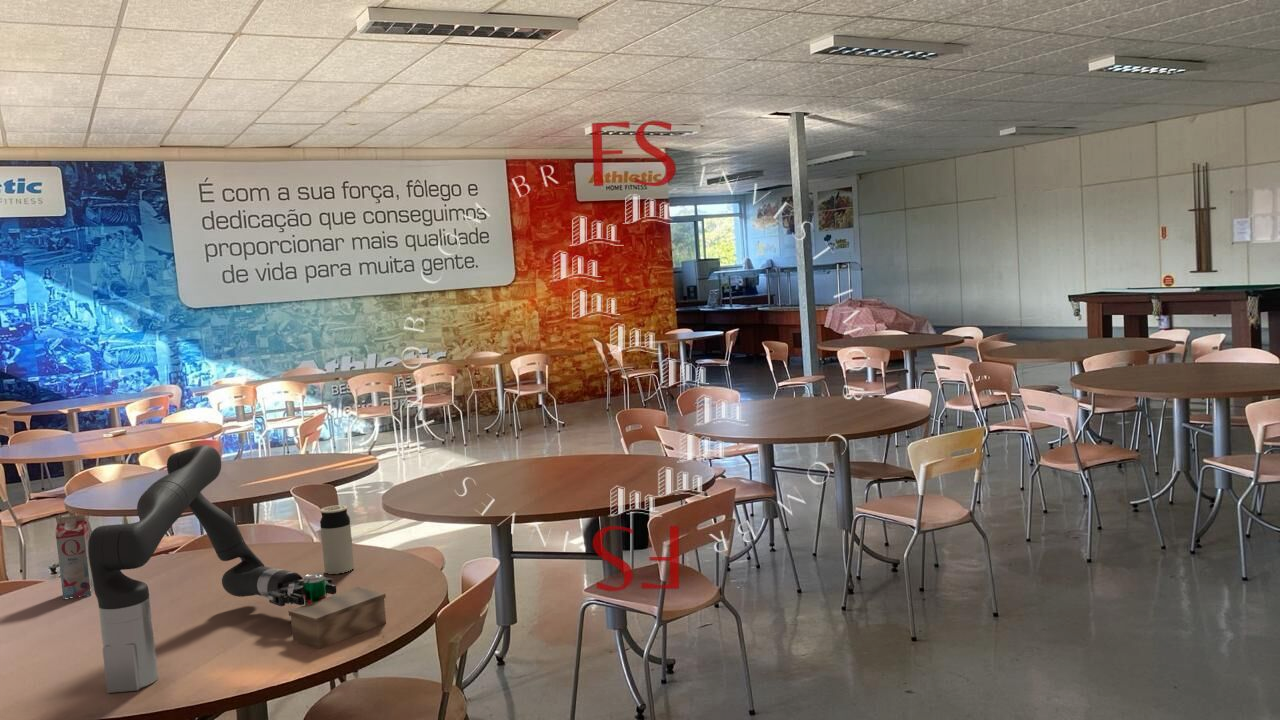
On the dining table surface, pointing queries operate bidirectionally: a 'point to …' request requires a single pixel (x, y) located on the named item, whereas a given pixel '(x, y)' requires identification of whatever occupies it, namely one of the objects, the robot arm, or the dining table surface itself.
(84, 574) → the juice carton
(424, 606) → the dining table surface
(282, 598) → the robot arm
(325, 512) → the travel mug
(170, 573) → the dining table surface
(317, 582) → the soda can
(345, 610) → the shoebox
